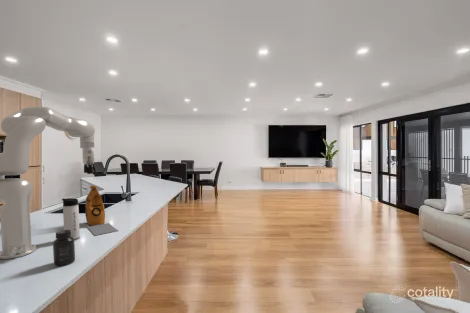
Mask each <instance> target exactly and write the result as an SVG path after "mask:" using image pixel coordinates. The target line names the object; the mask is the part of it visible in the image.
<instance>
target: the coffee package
mask: <svg viewBox="0 0 470 313" xmlns="http://www.w3.org/2000/svg"><path fill="white" fill-rule="evenodd" d="M89 188H90V191H89V193H88V194H87V196H86V198H85V208H84V210H85V212H84V214H85V221H86V222H87V224H88V225H90V226H96V225H101V224H106V223H105V222H106V221H105V220H106V210H105V205H104V203H103V199H102V198H103V197H102V196H101V194H100V193H99V191H98V188H97V186H96V185H92V184H91V185H90V187H89Z"/></svg>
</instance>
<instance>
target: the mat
mask: <svg viewBox="0 0 470 313" xmlns="http://www.w3.org/2000/svg"><path fill="white" fill-rule="evenodd" d="M87 229H88V230H89V231H90V232H91V234H92V235H93V236H94V237H96V236H101V235H106V234H111V233H115V232H116V233H117V232H119V230H118V229H117V228H115V227H114V226H113V225H112V224H111V223H109V222H107V223H104V224H100V225H93V226H91V225H90V226H87Z"/></svg>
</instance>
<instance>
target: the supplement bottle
mask: <svg viewBox="0 0 470 313" xmlns="http://www.w3.org/2000/svg"><path fill="white" fill-rule="evenodd" d="M75 245H76V244H75V240H74V238H73V237H71V230H64V229H63V230H58V231H56V232H55V240H53V242H52V251H53V253H52V254H53V264H54V265H53V266H56V267H64V266H67V265H71V264H73V263H75V260H76V251H75V250H76V248H75Z"/></svg>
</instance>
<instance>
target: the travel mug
mask: <svg viewBox="0 0 470 313" xmlns="http://www.w3.org/2000/svg"><path fill="white" fill-rule="evenodd" d="M61 201H62V207H63V208H62V216H63V230H71V237H73V238H74V241H77V240H79V239H80V237H81V236H80V213H79V212H80V210H79V207H80V206H79V199H78V198H74V197H73V198H65V197H64V198H61Z"/></svg>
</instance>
